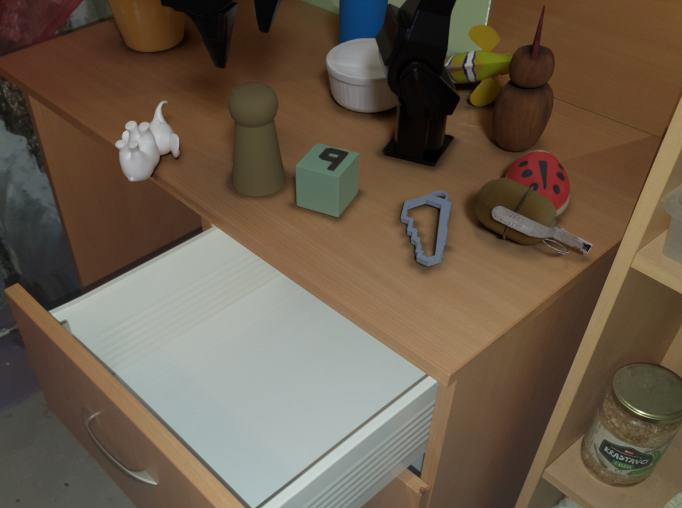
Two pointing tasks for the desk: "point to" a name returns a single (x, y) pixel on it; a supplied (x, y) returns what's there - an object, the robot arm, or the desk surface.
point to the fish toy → (480, 65)
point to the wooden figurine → (525, 97)
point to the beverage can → (360, 18)
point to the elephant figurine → (146, 146)
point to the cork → (255, 140)
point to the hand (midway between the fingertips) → (243, 49)
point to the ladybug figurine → (542, 177)
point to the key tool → (442, 228)
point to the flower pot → (148, 24)
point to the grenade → (522, 215)
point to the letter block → (327, 179)
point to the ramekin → (359, 77)
